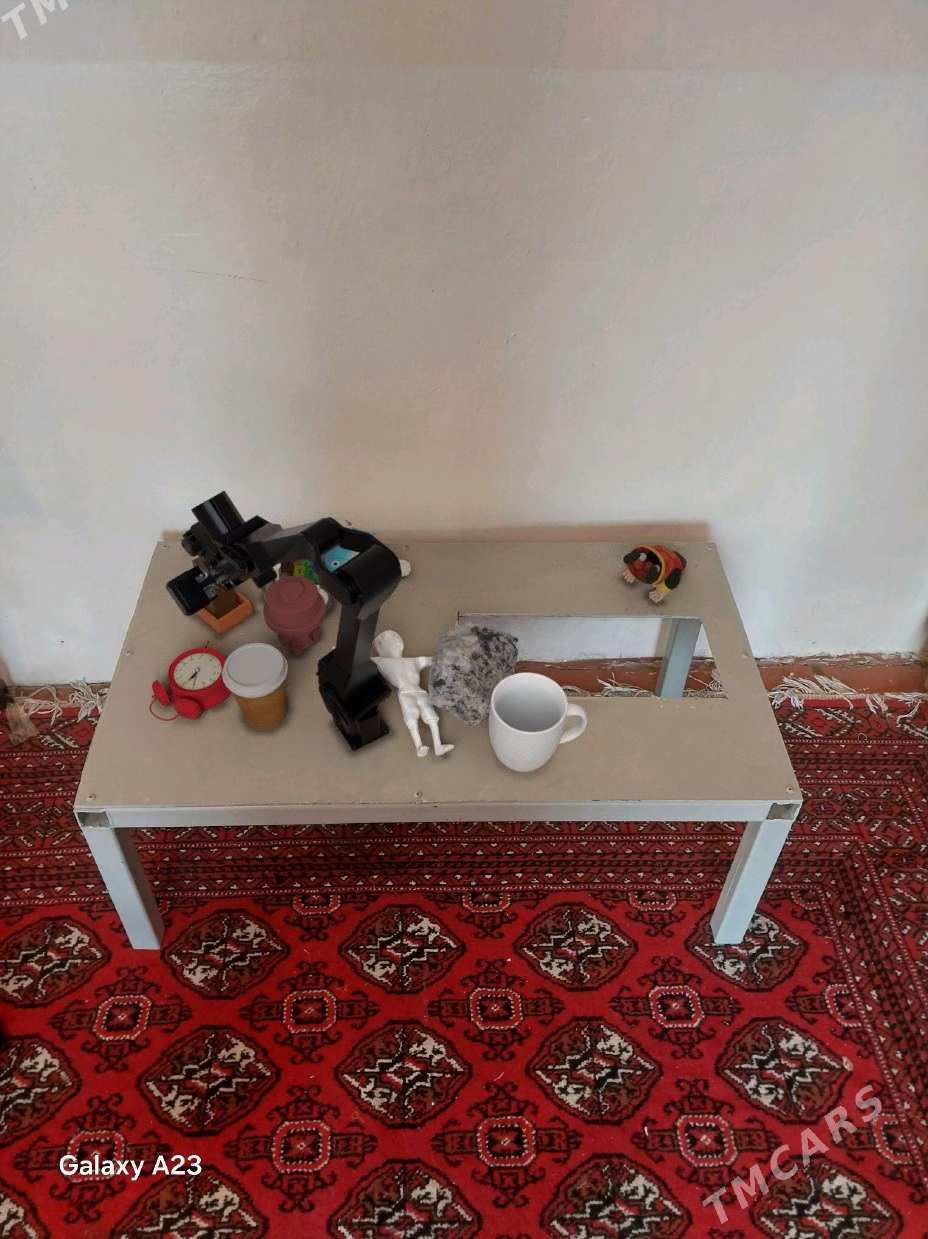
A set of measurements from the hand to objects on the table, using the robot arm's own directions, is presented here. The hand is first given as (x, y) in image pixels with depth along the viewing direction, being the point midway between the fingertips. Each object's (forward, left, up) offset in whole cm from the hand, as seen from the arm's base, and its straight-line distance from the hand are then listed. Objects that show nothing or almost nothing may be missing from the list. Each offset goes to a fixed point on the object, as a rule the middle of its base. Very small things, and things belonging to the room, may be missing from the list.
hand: (211, 578), depth 145 cm
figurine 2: (-37, -62, 0) cm, 72 cm away
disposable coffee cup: (-25, +3, -8) cm, 26 cm away
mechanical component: (-14, -9, -8) cm, 18 cm away
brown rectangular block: (-1, 0, -6) cm, 7 cm away
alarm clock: (-15, +10, -8) cm, 20 cm away
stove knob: (-7, -14, -8) cm, 18 cm away
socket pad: (-1, 0, -8) cm, 8 cm away
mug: (-53, -28, -8) cm, 60 cm away
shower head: (+9, -28, -7) cm, 30 cm away
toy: (-3, -29, -7) cm, 30 cm away
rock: (-41, -30, +2) cm, 51 cm away
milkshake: (-2, -9, -8) cm, 12 cm away
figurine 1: (-47, -16, -3) cm, 50 cm away
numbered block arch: (+1, -17, -8) cm, 18 cm away
